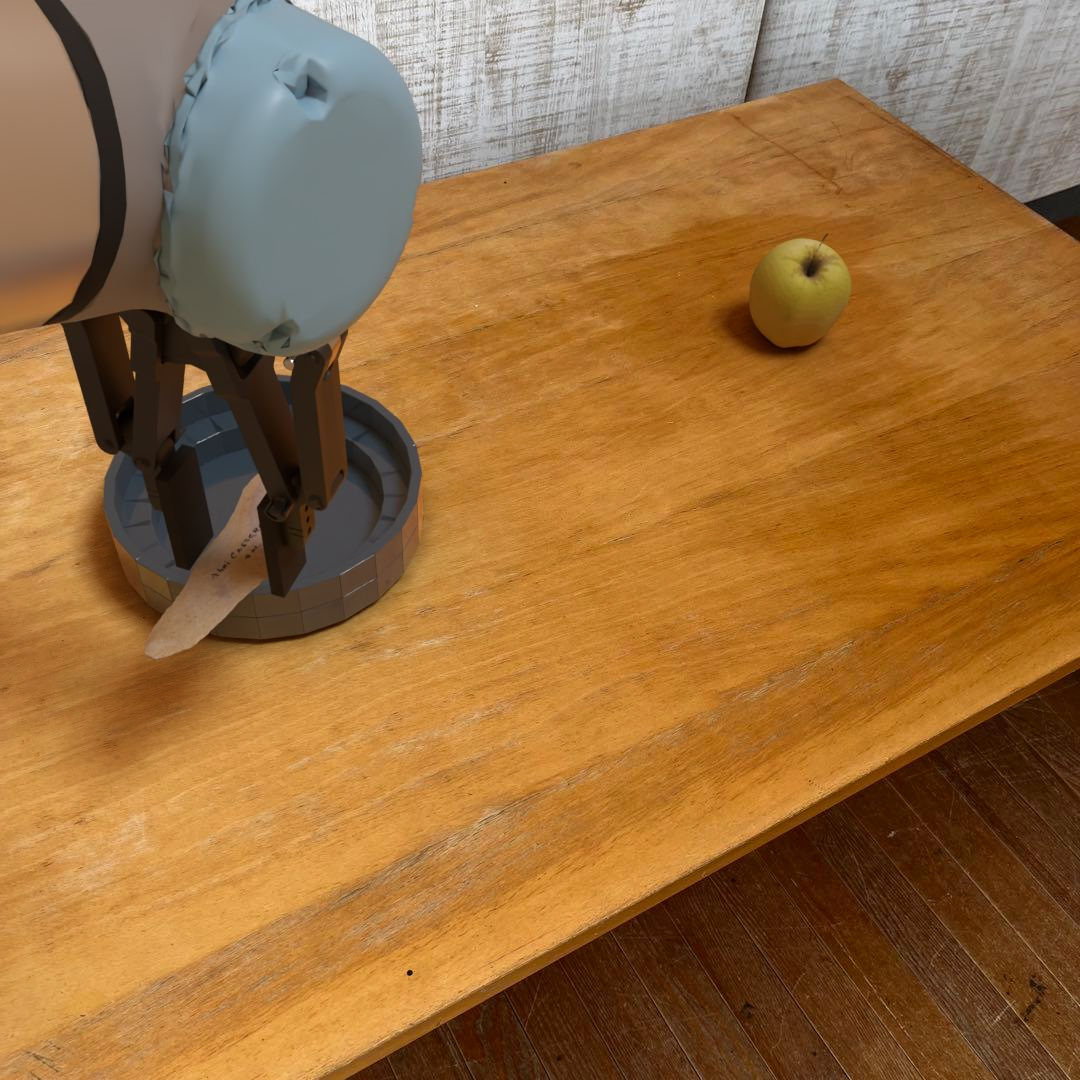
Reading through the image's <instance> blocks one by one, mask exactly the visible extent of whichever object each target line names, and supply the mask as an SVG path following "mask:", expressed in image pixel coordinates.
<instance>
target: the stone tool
mask: <svg viewBox="0 0 1080 1080" xmlns="http://www.w3.org/2000/svg"><path fill="white" fill-rule="evenodd" d="M266 493H267V492H266V489H265V487H264V485H263V483H262V480H261V478H260V476H259V474H257V475H256V476H255V477H254V478H253V479H252V480H251V481H250V482H249V483H248V485H247V486H245V488H244V489H243V491H242V494H241V497H240V499H239V501H238V504H237V506H236V508H235V511H234V513H233V514H232V516H231V517H230V519H229V521H228V523H227V525H226V527H225V528H224V529H223V530H222V531H221V533H220V534H219V536H218V537H217V538H216V539H215V540H213V542H212V544H211V545H210V546H209V547H208V549H207V550H206V551H205V552H204V553H203V554H202V555H201V556H200V557H199V559H198V560H197V561H196V563H195V565H194V568H193V570H192V572H191V574H190V577H189V579H188V581H187V583H186V585H185V586H184V588H183V590H182V591H181V592H180V594H179V595H178V596H177V597H176V599H175V601H174V602H173V604H172V606H170V607H169V608H168V609H167V610H166V611H165V613H164V614H161V616H160V618H159V620H157V622H156V624H154V626H153V628H152V629H151V631H150V632H149V634H148V638H147V639H146V643H145V645H144V648H143V651H144V655H145V656H146V657H147V658H148V659H150V660H152V661H159V660H161V659H162V660H163V659H165V658H168V657H171V656H173V655H175V654H179V653H182V652H185V651H187V650H190V649H192V648H193V647H195V646H197V645H198V643H199V642H201V640H202V639H204V638H205V637H206V636H208V634H209V632H210V631H211V630H212V629H213V628H214V627H215V626H216V625H217V624H218V623H220V622H221V621H222V620H223V619H224V618H225V617H226V616H227V615H228V614H229V612H231V611H232V609H233V608H234V607H235V606H236V605H237V603H239V602H240V601H241V600H242V599H244V597H245V596H247V594H249V593H250V592H251V591H252V590H253V589H254V588H256V587H257V586H258V585H259V584H260V583H261V582H262V581H264V580H266V579H267V578H268V572H267V566H266V560H265V554H264V548H263V542H262V536H261V530H260V524H259V518H258V512H257V506H258V505H259V503H260V502H261V500H262V499H263V497H264V496H265V494H266Z"/></svg>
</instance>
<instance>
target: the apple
mask: <svg viewBox="0 0 1080 1080" xmlns="http://www.w3.org/2000/svg"><path fill="white" fill-rule="evenodd" d="M828 235H829V233H828V232H827V233H826V234H825V235H824V236H823V238H822V240H821V241H819V240H817V239H813V238H806V237H805V238H804V237H803V238H802V237H801V238H800V237H799V238H794V239H790V240H786V241H784V242H782V243H780V244H778V245H775V246H774V247H773V248H771V249H770V250H768V252H767V253H765V255H764V256H763V257H762V258H761V259H760V260H759V262H758V263H757V265H756V267H755V268H754V270H753V272H752V275H751V278H750V282H749V296H748V306H749V312H750V315H751V319H752V321H753V323H754V325H755V327H756V329H758V331H759V332H760V333H761V334H762V335H763V336H764V337H765V338H766V339H767V340H768V341H769V342H771V343H772V344H773V345H775V346H777V347H779V348H782V349H786V348H793V347H805V346H809V345H812V344H814V343H816V342H817V341H819V340H820V339H823V337H825V335H826V334H827V333H829V332H830V330H832V328H833V327H834V326H835V324H836V323H837V322H838V321H839V320H840V318H841V317H842V315H843V313H844V312H845V310H846V308H847V306H848V303H849V301H850V297H851V294H852V293H851V292H852V286H853V285H852V278H851V273H850V271H849V270H850V269H848V267H847V265H846V263H845V262H844V260H843V259H842V257H841V255H840V254H838V253H837V252H836V251H835V250H834V249H833V248H832V247H830V246H829V245H827V244H825V243H824V241H825V239H826V238H827V236H828Z"/></svg>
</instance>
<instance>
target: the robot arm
mask: <svg viewBox="0 0 1080 1080" xmlns="http://www.w3.org/2000/svg"><path fill="white" fill-rule="evenodd" d="M423 163H424V149H423V137H422V130H421V124H420V118H419V115H418V111H417V108H416V104H415V101H414V98H413V95H412V93H411V91H410V88H409V87H408V85H407V83H406V81H405V79H404V78H403V76H402V74H401V73H400V71H399V70H398V68H397V67H396V66H395V64H393V62H392V61H391V60H390V59H389V57H388V56H387V55H385V54H384V53H383V52H382V51H381V50H380V49H379V48H378V47H377V46H376V45H374V44H372V43H371V42H370V41H368V40H365V38H363V37H360V36H358V35H356V34H355V33H352V32H350V31H347V30H345V29H343V28H342V27H339V26H337V25H335V24H333V23H331V22H329V21H328V20H325V19H323V18H322V17H319V16H317V15H315V14H313V13H311V12H309V11H307V10H306V9H303V8H301V7H299V6H297V5H295V4H294V3H293V1H292V0H0V336H1V335H7V334H10V333H11V334H12V333H15V332H20V331H25V330H31V329H36V328H40V327H45V326H50V325H59V324H60V326H61V327H62V331H63V333H64V337H65V340H66V343H67V347H68V351H69V353H70V357H71V361H72V364H73V367H74V372H75V374H76V378H77V381H78V384H79V388H80V391H81V395H82V398H83V401H84V405H85V408H86V412H87V416H88V419H89V422H90V426H91V429H92V433H93V436H94V439H95V443H96V445H97V447H98V448H99V449H100V450H101V451H102V452H103V453H105V454H107V455H110V456H114V455H115V454H117V453H118V452H119V451H121V452H123V453H125V454H127V455H129V456H130V457H132V462H133V464H134V465H135V467H136V468H137V469H138V470H140V471H142V475H143V478H144V482H145V486H146V488H147V489H146V490H147V493H148V498H149V501H150V503H151V505H152V506H153V508H154V509H155V510H157V511H161V512H163V515H164V519H165V523H166V527H167V531H168V535H169V539H170V543H171V547H172V551H173V555H174V559H175V563H176V567H179V568H182V569H185V570H190V569H191V568H192V566H193V565H194V563H195V562H196V560H197V559H198V558H199V556H200V555H201V553H202V552H203V550H204V549H205V548H206V546H207V545H208V543H209V542H210V541H211V539H212V538H213V536H214V534H213V529H212V524H211V519H210V514H209V510H208V505H207V500H206V495H205V491H204V486H203V481H202V476H201V471H200V467H199V462H198V457H197V452H196V448H195V447H191V446H188V445H184V444H182V445H181V446H180V447H179V448H178V450H177V451H176V450H175V446H174V445H175V444H176V443H177V442H178V440H179V439H180V438H181V437H182V435H183V434H184V433H185V432H186V428H184V429H183V431H181V432H180V429H181V427H182V426H180V423H181V411H182V399H183V396H184V387H185V373H186V366H187V365H188V366H193V367H194V368H197V369H199V370H201V371H203V372H205V374H206V376H207V379H208V380H209V383H210V385H212V387H213V390H214V392H215V394H216V396H217V397H218V398H221V399H226V400H227V402H228V404H229V407H230V409H231V411H232V414H233V416H234V418H235V421H236V423H237V425H238V427H239V430H240V432H241V434H242V437H243V439H244V441H245V443H246V446H247V448H248V450H249V453H250V455H251V457H252V460H253V462H254V464H255V466H256V469H257V471H258V473H259V476H260V478H261V480H262V483H263V485H264V487H265V489H266V492H267V493H266V494H265V496H264V497H263V499H262V500H261V502H260V503H259V505H258V506H257V512H258V518H259V524H260V530H261V536H262V542H263V548H264V554H265V560H266V566H267V572H268V578H269V584H270V590H271V594H272V595H275V596H279V597H282V598H285V596H286V595H287V593H288V592H289V590H290V588H291V587H292V585H293V583H294V582H295V580H296V579H297V577H298V575H299V574H300V572H301V570H302V569H303V567H304V566H305V564H306V562H307V560H306V552H305V543H306V542H307V540H308V539H309V537H310V535H311V534H312V532H313V530H314V528H315V526H316V523H315V514H314V510H316V511H323V510H325V509H326V508H327V506H328V505H329V503H330V502H331V500H332V498H333V497H334V495H335V494H336V492H337V490H338V489H339V487H340V486H341V484H342V482H343V481H344V479H345V478H346V476H347V473H348V468H347V456H346V445H345V433H344V421H343V410H342V398H341V386H340V384H341V376H340V365H339V364H340V363H339V358H340V355H341V352H342V350H343V348H344V345H345V342H346V340H347V338H348V334H349V330H350V328H351V327H352V326H353V325H354V324H355V323H357V322H358V321H359V320H360V319H361V318H362V317H363V315H364V314H366V312H368V310H369V309H370V307H371V306H372V305H373V304H374V302H375V301H376V300H377V299H378V297H379V296H380V295H381V293H382V292H383V291H384V289H385V287H386V285H387V284H388V282H389V281H390V279H391V277H392V275H393V274H394V271H395V270H396V268H397V266H398V264H399V261H400V260H401V257H402V255H403V253H404V251H405V248H406V246H407V243H408V240H409V238H410V235H411V231H412V228H413V226H414V211H415V206H416V202H417V201H416V200H417V194H418V192H419V187H420V185H421V182H422V177H423V169H424V167H423V165H424V164H423ZM121 319H122V321H123V322H124V323H125V324H126V325H127V329H128V332H129V333H130V346H129V347H130V350H128V346H127V342H126V338H125V334H124V333H125V332H124V329H123V325H122V322H121ZM129 351H130V352H129ZM277 357H278V358H284V359H283V361H282V364H283V367H284V368H285V369H286V370H288V371H291V374H290V375H291V378H290V396H291V404H292V412H293V416H292V413H291V411H290V408H289V406H288V403H287V401H286V398H285V395H284V393H283V390H282V388H281V385H280V383H279V380H278V378H277V375H278V374H277V373H276V371H275V361H276V358H277Z"/></svg>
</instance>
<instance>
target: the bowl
mask: <svg viewBox="0 0 1080 1080" xmlns="http://www.w3.org/2000/svg"><path fill="white" fill-rule="evenodd" d="M276 375H277V378H278V380H279V383H280V385H281V388H282V390H283V393H284V395H285V398H286V401H287V403H288V406H289V408H290V411H291V413H292V416H293V412H292V404H291V396H290V378H291V374H276ZM340 386H341V398H342V410H343V421H344V433H345V445H346V456H347V468H348V473H347V476H346V478H345V479H344V481H343V482H342V484H341V486H340V487H339V489H338V490H337V492H336V494H335V495H334V497H333V498H332V500H331V502H330V503H329V505H328V506H327V508H326V509H325V510H323V511H316V510H314V514H315V523H316V526H315V528H314V530H313V532H312V534H311V535H310V537H309V539H308V540H307V542H306V543H305V552H306V560H307V562H306V564H305V566H304V567H303V569H302V570H301V572H300V574H299V575H298V577H297V579H296V580H295V582H294V583H293V585H292V587H291V588H290V590H289V592H288V593H287V595H286V596H285V598H282V597H279V596H275V595H272V594H271V590H270V584H269V578H267V579H266V580H264V581H262V582H261V583H260V584H259V585H258V586H257V587H256V588H254V589H253V590H252V591H251V592H250V593H249V594H247V596H245V597H244V599H242V600H241V601H240V602H239V603H237V605H236V606H235V607H234V608H233V609H232V611H231V612H229V614H228V615H227V616H226V617H225V618H224V619H223V620H222V621H221V622H220V623H218V624H217V625H216V626H215V627H214V628H213V629H212V630H211V631H210V632H209V633H208V634H210V635H213V636H216V637H220V638H236V639H248V640H249V639H250V640H267V639H268V640H269V639H275V638H284V637H291V636H298V635H304V634H308V633H311V632H313V631H317V630H320V629H322V628H325V627H329V626H331V625H335V624H337V623H339V622H342V621H345V620H347V619H348V618H350V617H352V616H353V615H355V614H357V613H358V612H360V611H362V610H364V609H365V608H367V607H369V606H370V605H372V604H373V603H375V602H376V601H378V600H379V599H381V597H382V596H383V595H384V594H385V593H386V592H387V591H388V590H389V589H390V588H391V587H392V586H393V585H394V584H395V583H396V582H397V581H398V580H399V579H400V578H401V577H402V576H403V575H404V573H405V572H406V569H407V568H408V566H409V565H410V563H411V561H412V559H413V557H414V556H415V554H416V551H417V549H418V548H419V545H420V541H421V535H422V528H423V522H424V490H423V489H424V488H423V486H424V485H423V484H424V483H423V470H422V465H421V460H420V455H419V454H420V453H419V449H418V446H417V444H416V442H415V441H414V438H413V437H412V435H411V434H410V433H409V431H408V429H407V428H406V426H405V425H404V423H403V422H402V420H401V419H400V418H399V417H398V416H396V415H395V414H394V413H393V412H392V411H390V410H389V409H388V408H387V407H386V406H385V405H383V404H382V403H381V402H379V400H377V399H375V398H373V397H371V396H369V395H368V394H365V393H363V392H361V391H359V390H357V389H355V388H353V387H351V386H348V385H346V384H342V383H340ZM180 426H182V427H181V429H180V432H181V431H183V429H184V428H186V432H185V433H184V434H183V435H182V437H181V438H180V439H179V440H178V442H177V443H176V444H175V445H174V446H175V450H176V451H177V450H178V448H179V447H180V446H181V445H182V444H184V445H188V446H191V447H195V448H196V452H197V457H198V462H199V467H200V471H201V476H202V481H203V486H204V491H205V495H206V500H207V505H208V510H209V514H210V519H211V524H212V529H213V534H214V536H213V538H212V539H211V541H210V542H209V543H208V545H207V546H206V548H205V549H204V550H203V552H202V553H201V555H202V554H203V553H204V552H205V551H206V550H207V549H208V547H209V546H210V545H211V544H212V542H213V540H215V539H216V538H217V537H218V536H219V534H220V533H221V531H222V530H223V529H224V528H225V527H226V525H227V523H228V521H229V519H230V517H231V516H232V514H233V513H234V511H235V508H236V506H237V504H238V501H239V499H240V497H241V494H242V491H243V489H244V488H245V486H247V485H248V483H249V482H250V481H251V480H252V479H253V478H254V477H255V476H256V475H257V474H259V473H258V471H257V469H256V466H255V464H254V462H253V460H252V457H251V455H250V453H249V450H248V448H247V446H246V443H245V441H244V439H243V437H242V434H241V432H240V430H239V427H238V425H237V423H236V421H235V418H234V416H233V414H232V411H231V409H230V407H229V404H228V402H227V400H226V399H221V398H218V397H217V396H216V394H215V392H214V390H213V387H212V385H211V384H209V385H205V386H201V387H199V388H196V389H195V390H193V391H190V392H188V393H186V394H183V399H182V411H181V423H180ZM146 489H147V488H146V486H145V482H144V478H143V475H142V471H140V470H138V469H137V468H136V467H135V465H134V464H133V462H132V457H130V456H129V455H127V454H125V453H123V452H121V451H119V452H118V453H117V454H115V455H113V457H112V459H111V461H110V464H109V466H108V468H107V470H106V473H105V476H104V479H103V495H102V497H103V498H102V501H103V502H102V508H103V509H102V510H103V512H104V516H105V519H106V522H107V526H108V528H109V532H110V535H111V537H112V541H113V544H114V547H115V550H116V553H117V557H118V559H119V562H120V564H121V567H122V571H123V572H124V575H125V577H126V578H125V579H126V580H127V582H128V583H129V584H130V586H132V588H133V589H134V590H135V591H136V592H137V594H138V595H139V596H140V597H141V599H143V601H144V602H145V603H146V604H147V605H148V606H149V608H151V609H153V610H155V611H156V612H159V613H160V614H161V615H163V614H164V613H165V611H166V610H167V609H168V608H169V607H170V606H172V604H173V602H174V601H175V599H176V597H177V596H178V595H179V594H180V592H181V591H182V590H183V588H184V586H185V585H186V583H187V581H188V579H189V577H190V574H191V572H192V570H193V568H194V565H195V563H196V562H195V563H194V565H193V566H192V568H191V569H190V570H185V569H182V568H179V567H176V563H175V559H174V555H173V551H172V547H171V543H170V539H169V535H168V531H167V527H166V523H165V519H164V515H163V512H161V511H157V510H155V509H154V508H153V506H152V505H151V503H150V501H149V498H148V493H147V490H146ZM201 555H200V556H201ZM200 556H199V557H200ZM198 559H199V558H198ZM198 559H197V560H198ZM197 560H196V561H197Z"/></svg>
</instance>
